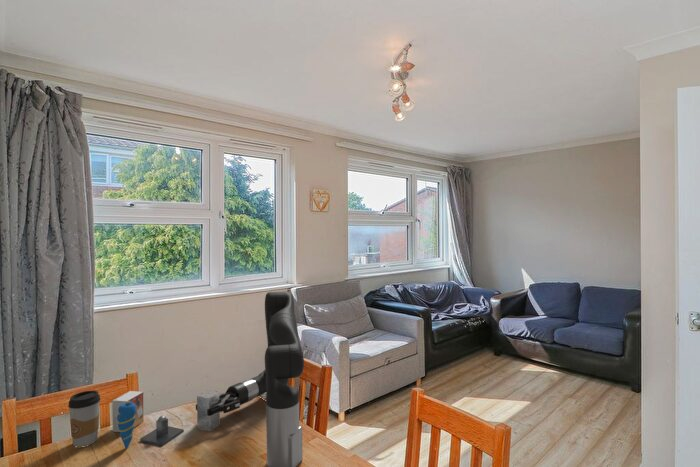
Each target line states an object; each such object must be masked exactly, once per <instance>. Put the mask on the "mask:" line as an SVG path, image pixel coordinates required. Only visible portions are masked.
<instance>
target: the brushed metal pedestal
mask: <svg viewBox="0 0 700 467" xmlns="http://www.w3.org/2000/svg"><path fill="white" fill-rule="evenodd" d="M219 394H220V392H219V391H217V392H216V390H215V391H213V390H208V389H207V390H206V391H204V392H202V393H201V394H198V395H196V404H197V410H196V414H197V415H196V416H197V421H196V422H197V430H200V431H206V432H211V431H212V430H214V429H215V428H217V427H219V426H220V425H221V423H220V422H221V420H220V417H221V416H220V415H221V413H219V412H218V413H215V414H213V415H211V416H208V415H207V410H208V409H209V408H212V407H214V406H216V405H219Z"/></svg>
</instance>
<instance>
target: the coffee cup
mask: <svg viewBox="0 0 700 467" xmlns="http://www.w3.org/2000/svg"><path fill="white" fill-rule="evenodd" d="M100 401H101V395H100V394H99V391H98V390H86V391H80V392H77V393H75V394H73V395H71V396H70V399H69V401H68V405H67V406H68V410H69V418H70V419H69V422H70V432H71V439H72V445H73V447H74V446H77V447H82V446H87V445H90V444H92V443H93V444H95V443H96V442H97V440H98V437H99V436H98V434H99V424H100V423H99V422H100V421H99V420H100ZM95 441H96V442H95ZM94 442H95V443H94ZM93 444H92V445H93ZM90 446H91V445H90ZM87 447H88V446H87Z"/></svg>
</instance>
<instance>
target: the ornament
mask: <svg viewBox="0 0 700 467" xmlns="http://www.w3.org/2000/svg"><path fill="white" fill-rule="evenodd" d="M128 400H129V399H128ZM118 412H119V414H118V416H117V420H118V422H119V424H118V427H119V429H120V432H119V437H120V438H121V441H122V443H123V446H124V448H125V449H128V448H129V446H130V444H131V442H132V439H133V436H134V434H133V433H134V421H135V418H136V417H135V413H136V405H135V404H134V403H132V402H129V401H126V403H124V404H122V405H120V406H119V408H118Z"/></svg>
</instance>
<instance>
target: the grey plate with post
mask: <svg viewBox="0 0 700 467" xmlns="http://www.w3.org/2000/svg"><path fill="white" fill-rule="evenodd" d="M155 422H156V423H155V424H156V425H155V426H156V428H155V429H154V430H152V431H150V432H148V433H147V434H146V435H143V436H142V437H141V438H139V442H141V443H144V444H145V443H146V444H149V445H154V446H159V447H163V446H165V445H167V444H168V443H170V442H171V441H173V440H174V439H176V438H177V437H179V436H180V435H182V434H183V433H184V432H185V430H184V429H183V428H178V427H173V426H169V418H167V417H166V416H165V415H161V416H159V418H158V419H157V420H156V421H155Z"/></svg>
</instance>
